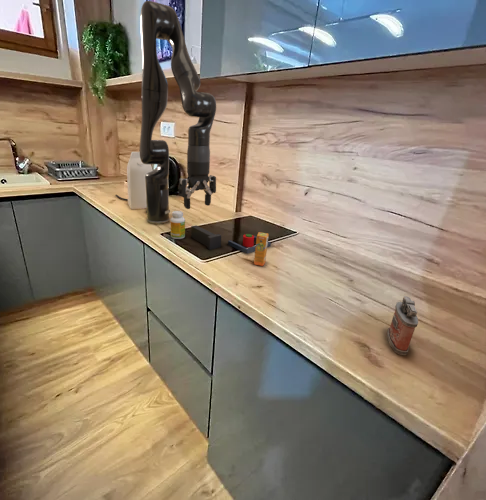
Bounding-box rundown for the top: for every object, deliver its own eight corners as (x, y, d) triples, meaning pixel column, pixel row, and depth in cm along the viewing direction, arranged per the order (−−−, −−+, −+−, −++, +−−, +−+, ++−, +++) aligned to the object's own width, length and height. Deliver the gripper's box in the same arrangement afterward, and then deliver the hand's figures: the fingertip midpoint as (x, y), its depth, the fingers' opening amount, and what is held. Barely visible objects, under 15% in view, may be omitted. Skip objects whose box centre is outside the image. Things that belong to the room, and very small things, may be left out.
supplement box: (253, 264, 95) (255, 234, 91) (255, 260, 98) (258, 231, 94) (263, 266, 94) (266, 236, 90) (265, 262, 97) (269, 233, 93)
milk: (151, 201, 161) (148, 150, 151) (156, 207, 151) (153, 153, 141) (127, 203, 156) (123, 150, 146) (131, 209, 147) (127, 153, 136)
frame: (227, 244, 110) (228, 240, 110) (251, 238, 117) (251, 234, 117) (246, 253, 103) (247, 249, 103) (270, 246, 110) (271, 242, 110)
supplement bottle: (182, 240, 112) (182, 214, 109) (168, 238, 113) (168, 213, 110) (186, 235, 117) (186, 210, 113) (173, 233, 118) (173, 209, 114)
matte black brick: (188, 238, 115) (188, 226, 113) (199, 235, 118) (199, 224, 116) (209, 250, 105) (210, 237, 103) (220, 246, 108) (221, 235, 106)
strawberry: (240, 244, 111) (241, 234, 109) (248, 242, 113) (248, 232, 112) (248, 248, 108) (248, 237, 107) (255, 245, 110) (256, 235, 109)
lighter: (384, 328, 68) (396, 290, 64) (401, 332, 67) (414, 293, 63) (392, 352, 61) (405, 311, 57) (410, 356, 60) (426, 314, 56)
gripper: (208, 157, 108) (207, 201, 114) (174, 158, 99) (174, 206, 106) (222, 160, 102) (219, 206, 109) (186, 162, 94) (186, 212, 100)
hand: (197, 206), depth 107 cm, fingers open, 8 cm apart
